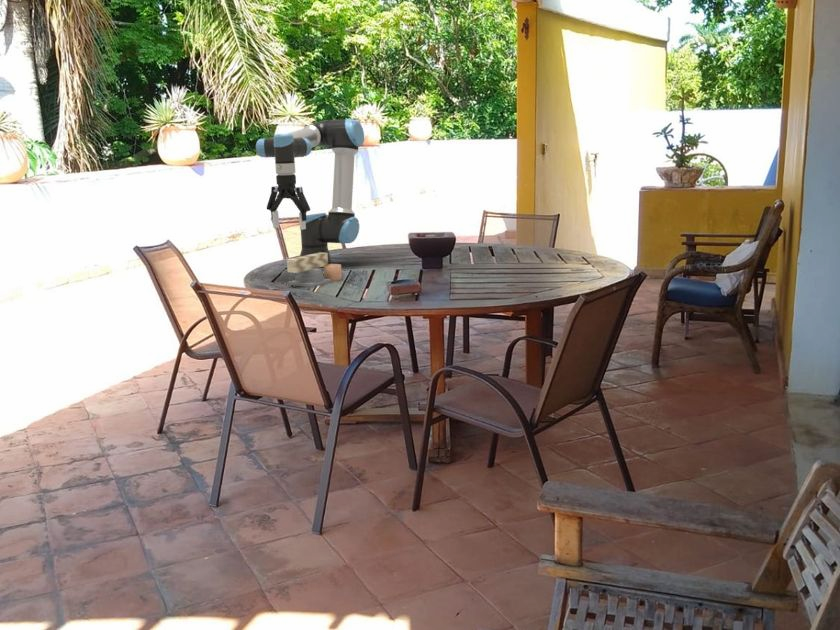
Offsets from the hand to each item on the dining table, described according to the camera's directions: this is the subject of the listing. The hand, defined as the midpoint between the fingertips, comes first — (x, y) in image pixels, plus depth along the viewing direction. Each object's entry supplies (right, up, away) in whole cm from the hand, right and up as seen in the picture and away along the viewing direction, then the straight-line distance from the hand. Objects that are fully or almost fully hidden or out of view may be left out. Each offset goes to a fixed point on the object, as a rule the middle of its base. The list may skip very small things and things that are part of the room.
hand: (289, 228), depth 320 cm
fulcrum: (+8, -22, +1) cm, 23 cm away
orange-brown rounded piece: (+16, -20, +8) cm, 27 cm away
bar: (+8, -16, -1) cm, 18 cm away
